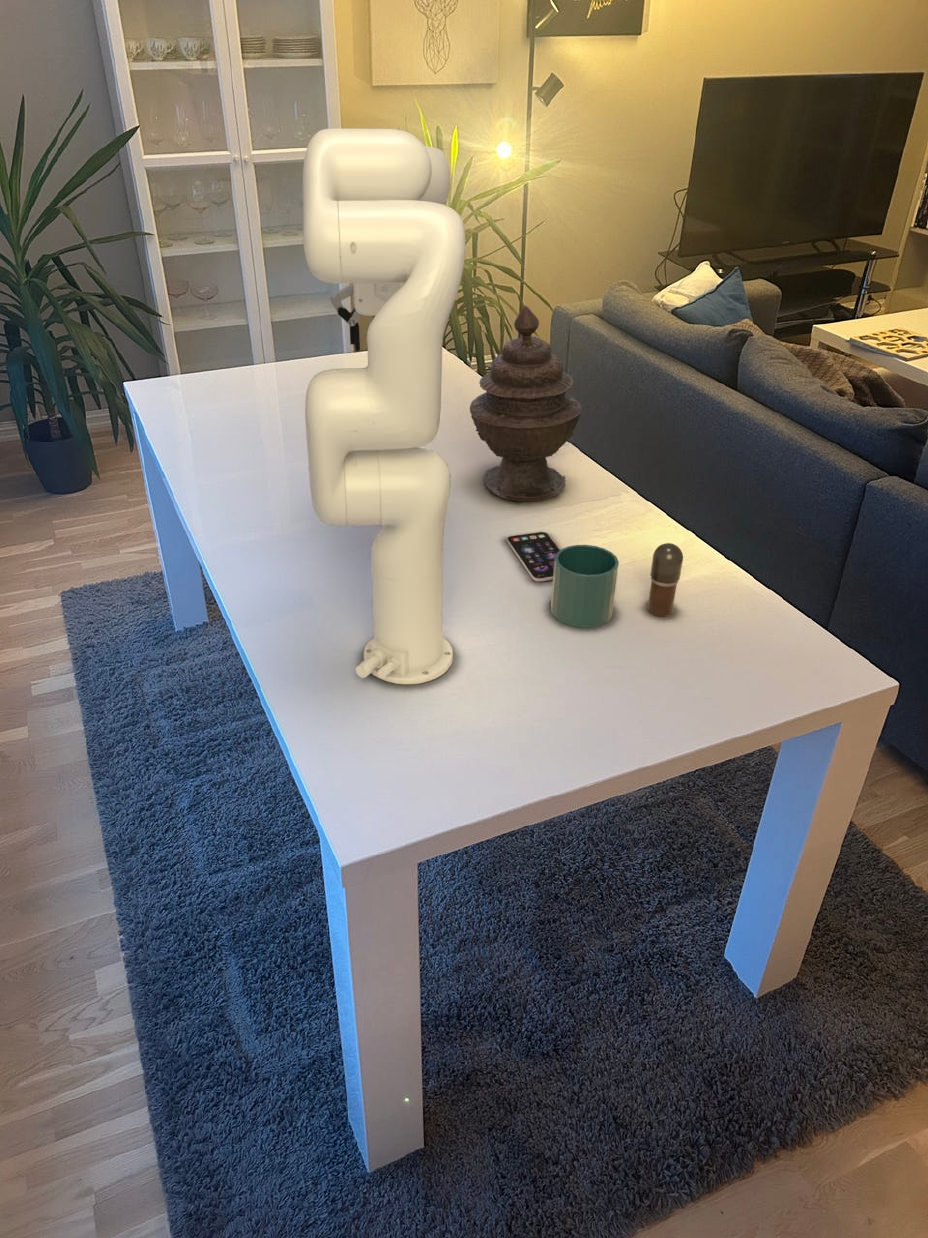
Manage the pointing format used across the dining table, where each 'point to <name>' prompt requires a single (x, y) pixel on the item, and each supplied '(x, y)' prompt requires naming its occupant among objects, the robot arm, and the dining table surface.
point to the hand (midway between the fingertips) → (386, 347)
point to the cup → (584, 585)
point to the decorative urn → (525, 415)
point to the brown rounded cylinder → (664, 579)
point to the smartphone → (535, 553)
